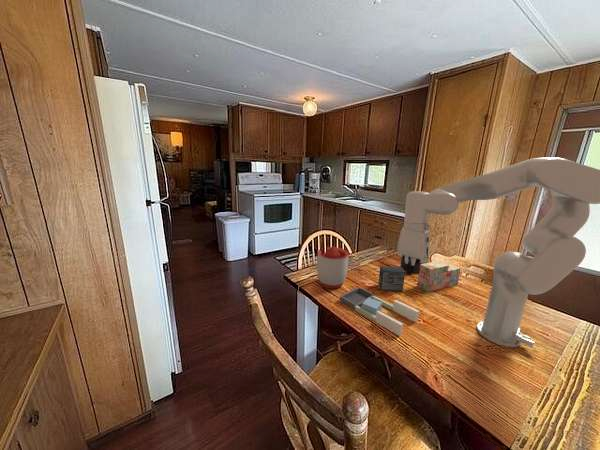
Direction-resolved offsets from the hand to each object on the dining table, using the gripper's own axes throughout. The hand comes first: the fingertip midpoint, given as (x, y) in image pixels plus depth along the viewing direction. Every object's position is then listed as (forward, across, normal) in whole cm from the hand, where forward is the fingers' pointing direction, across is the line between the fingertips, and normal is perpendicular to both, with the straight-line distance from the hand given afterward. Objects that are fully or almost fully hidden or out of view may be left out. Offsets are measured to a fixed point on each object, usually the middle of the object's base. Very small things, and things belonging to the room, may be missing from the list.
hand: (410, 273), depth 91 cm
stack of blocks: (+21, +4, -40) cm, 46 cm away
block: (+20, +12, +5) cm, 24 cm away
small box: (+20, +17, -19) cm, 33 cm away
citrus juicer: (+19, +40, +1) cm, 44 cm away
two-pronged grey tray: (+20, +11, +3) cm, 23 cm away
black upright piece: (+21, +23, -51) cm, 59 cm away
